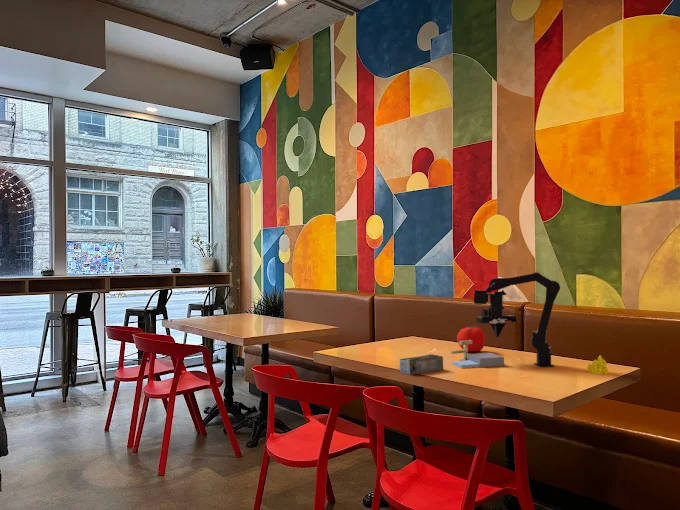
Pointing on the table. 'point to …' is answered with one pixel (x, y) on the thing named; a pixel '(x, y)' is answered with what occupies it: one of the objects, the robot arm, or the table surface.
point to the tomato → (472, 338)
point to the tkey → (464, 348)
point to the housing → (486, 359)
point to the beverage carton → (421, 364)
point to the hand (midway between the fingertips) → (497, 337)
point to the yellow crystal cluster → (598, 366)
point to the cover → (465, 364)
